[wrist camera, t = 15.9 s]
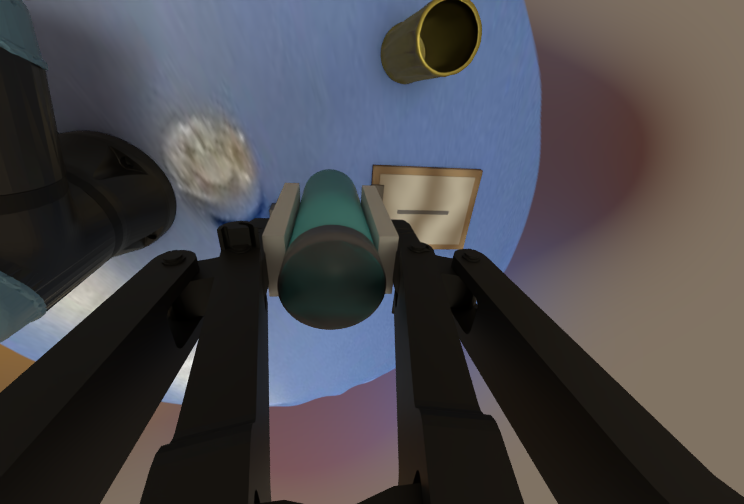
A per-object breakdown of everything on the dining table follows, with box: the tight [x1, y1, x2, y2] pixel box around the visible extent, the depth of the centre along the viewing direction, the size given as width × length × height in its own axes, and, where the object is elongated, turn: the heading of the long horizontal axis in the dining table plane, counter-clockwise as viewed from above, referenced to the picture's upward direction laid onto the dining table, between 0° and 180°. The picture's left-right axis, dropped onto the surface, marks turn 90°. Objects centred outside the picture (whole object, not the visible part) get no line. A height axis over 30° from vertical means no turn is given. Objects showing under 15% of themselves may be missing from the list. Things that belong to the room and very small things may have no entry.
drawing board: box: [371, 165, 483, 249], centre depth 44 cm, size 16×13×1 cm
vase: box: [381, 0, 482, 84], centre depth 28 cm, size 6×6×14 cm
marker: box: [277, 169, 386, 330], centre depth 16 cm, size 4×4×13 cm
